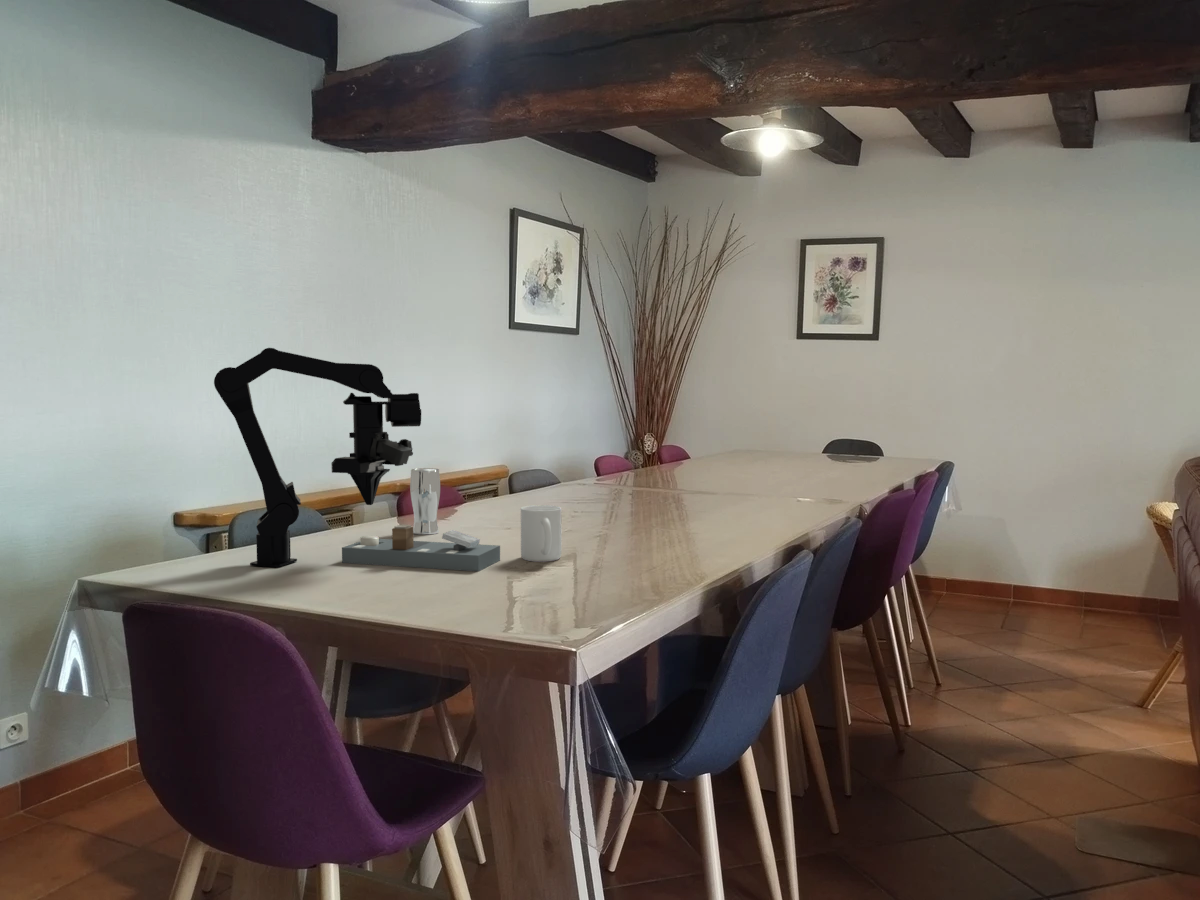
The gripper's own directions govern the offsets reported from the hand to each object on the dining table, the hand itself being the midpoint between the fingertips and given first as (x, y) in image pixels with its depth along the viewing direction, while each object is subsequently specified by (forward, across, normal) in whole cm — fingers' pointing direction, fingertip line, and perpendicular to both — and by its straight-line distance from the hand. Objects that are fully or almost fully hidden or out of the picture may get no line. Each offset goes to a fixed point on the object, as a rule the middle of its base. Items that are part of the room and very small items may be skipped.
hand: (369, 504), depth 185 cm
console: (+11, 0, -11) cm, 16 cm away
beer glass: (+11, +32, +3) cm, 34 cm away
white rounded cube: (+10, 0, 0) cm, 11 cm away
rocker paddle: (+6, 0, -20) cm, 21 cm away
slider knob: (+8, -3, -9) cm, 12 cm away
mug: (+11, +8, -34) cm, 37 cm away
